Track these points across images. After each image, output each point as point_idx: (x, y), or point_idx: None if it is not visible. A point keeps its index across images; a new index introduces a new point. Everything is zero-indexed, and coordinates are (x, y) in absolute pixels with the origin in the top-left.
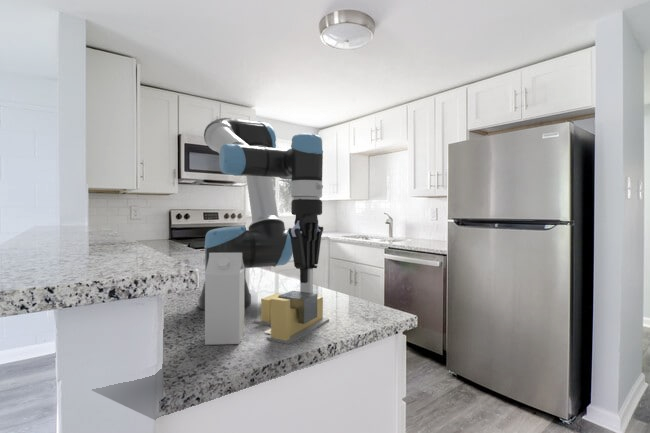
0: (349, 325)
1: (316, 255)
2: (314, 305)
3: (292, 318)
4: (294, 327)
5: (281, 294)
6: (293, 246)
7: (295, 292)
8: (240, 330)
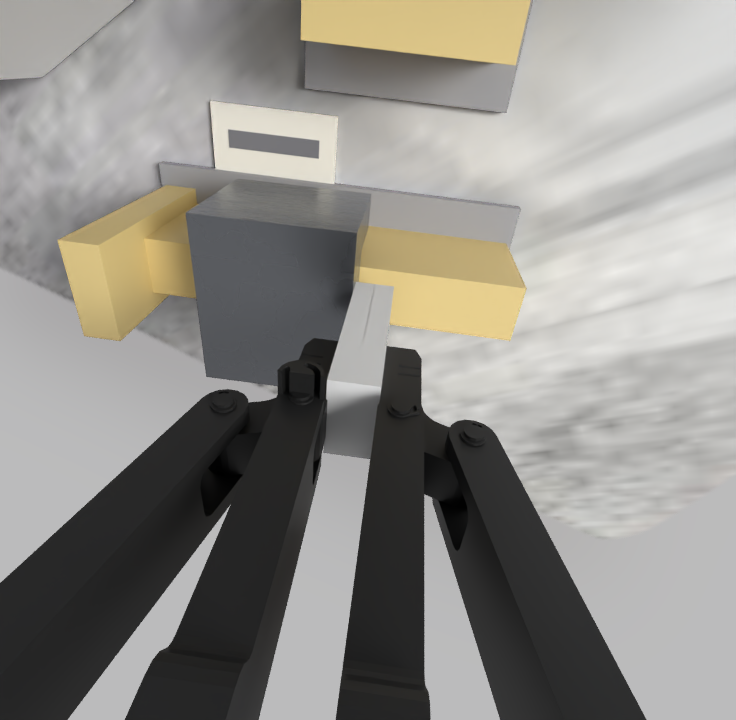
0: (458, 395)
1: (451, 554)
2: None
3: None
4: None
5: (496, 33)
6: (34, 576)
7: (316, 274)
8: (28, 61)
